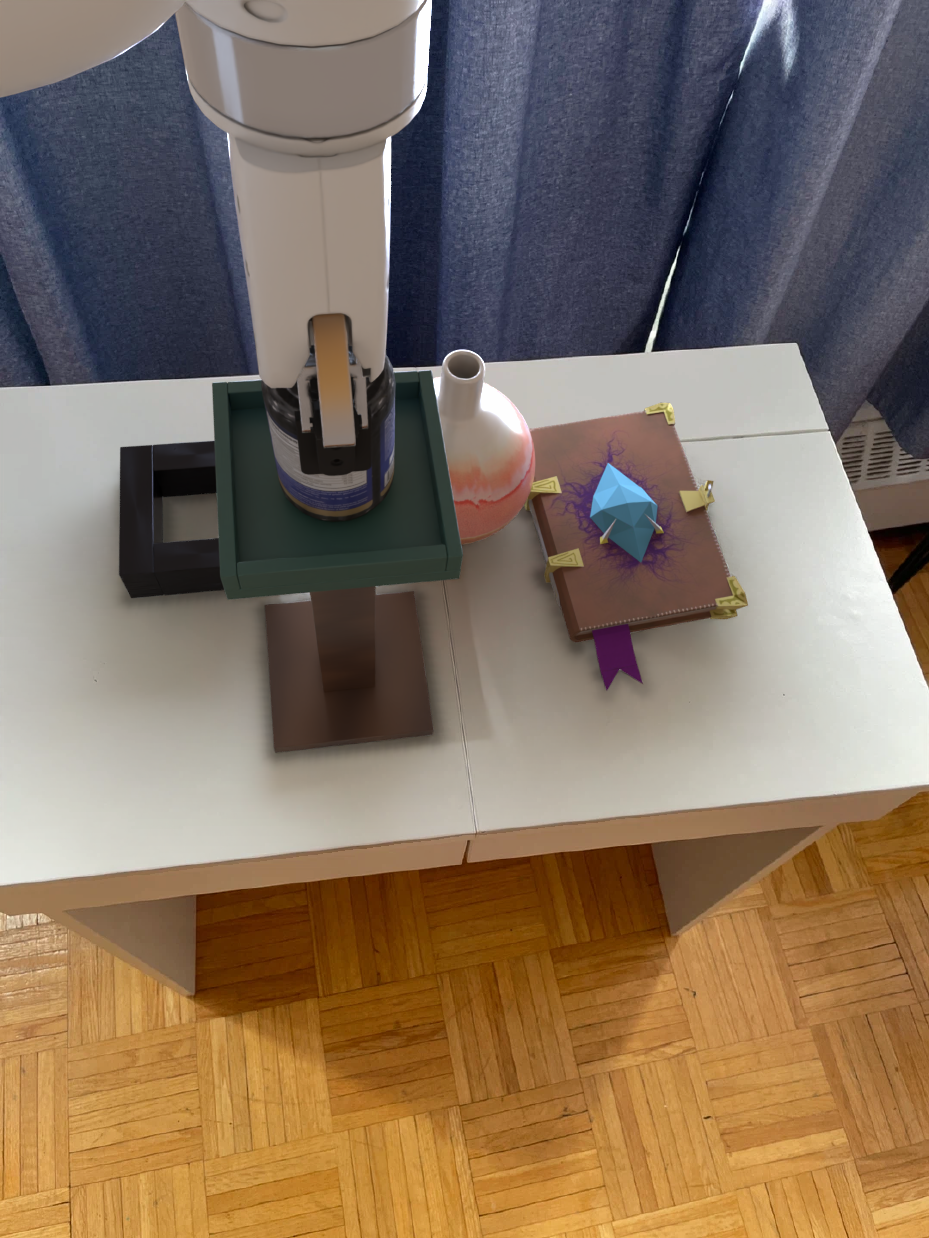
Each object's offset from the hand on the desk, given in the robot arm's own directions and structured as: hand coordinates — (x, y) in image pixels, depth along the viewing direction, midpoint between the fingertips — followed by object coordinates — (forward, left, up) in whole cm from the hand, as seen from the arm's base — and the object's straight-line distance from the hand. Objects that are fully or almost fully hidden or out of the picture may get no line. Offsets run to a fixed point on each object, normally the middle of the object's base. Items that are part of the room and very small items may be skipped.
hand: (329, 405), depth 44 cm
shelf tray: (0, 0, -7) cm, 7 cm away
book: (+22, -15, -33) cm, 42 cm away
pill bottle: (0, 0, -6) cm, 6 cm away
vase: (+18, +1, -33) cm, 38 cm away
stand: (0, 0, -33) cm, 33 cm away
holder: (+5, +17, -33) cm, 37 cm away
